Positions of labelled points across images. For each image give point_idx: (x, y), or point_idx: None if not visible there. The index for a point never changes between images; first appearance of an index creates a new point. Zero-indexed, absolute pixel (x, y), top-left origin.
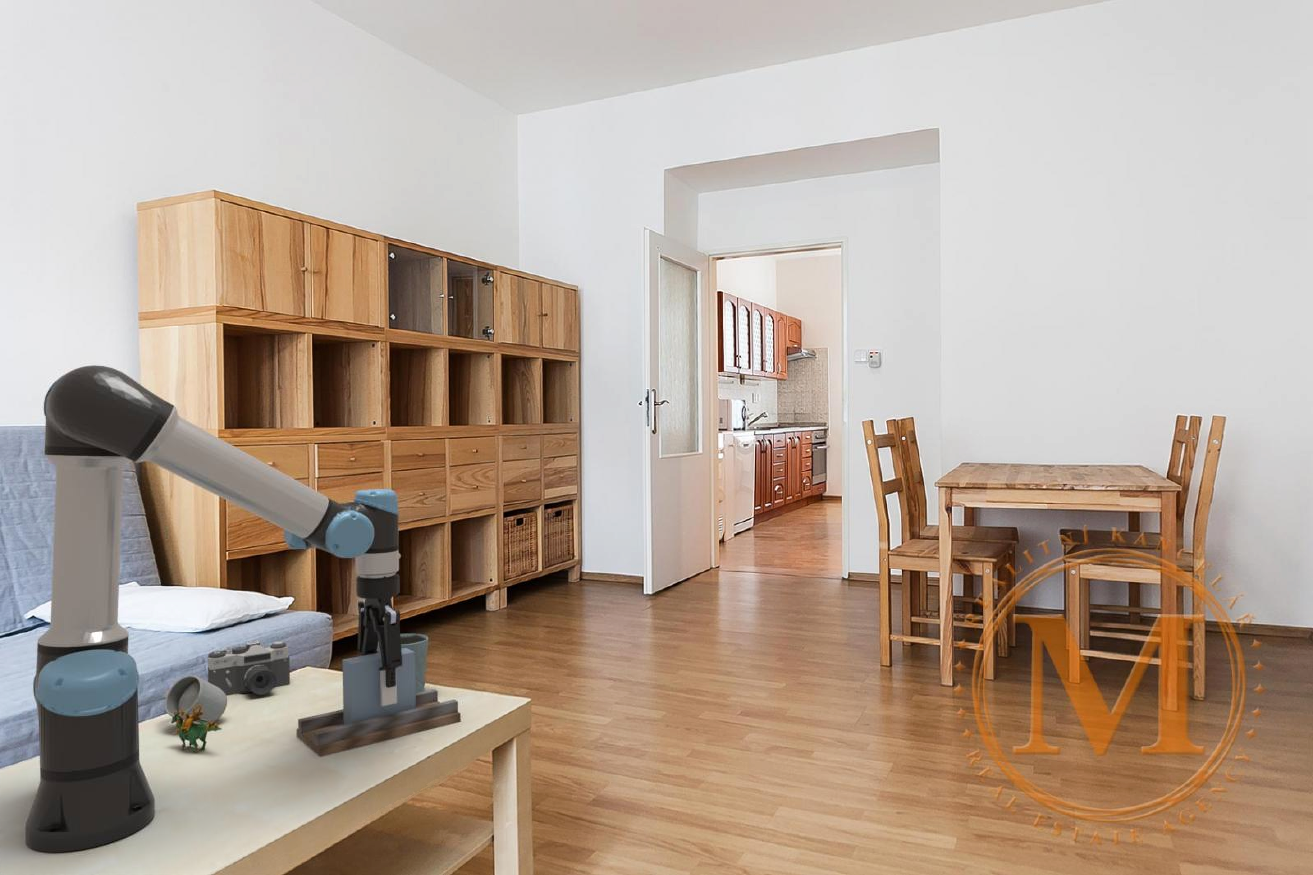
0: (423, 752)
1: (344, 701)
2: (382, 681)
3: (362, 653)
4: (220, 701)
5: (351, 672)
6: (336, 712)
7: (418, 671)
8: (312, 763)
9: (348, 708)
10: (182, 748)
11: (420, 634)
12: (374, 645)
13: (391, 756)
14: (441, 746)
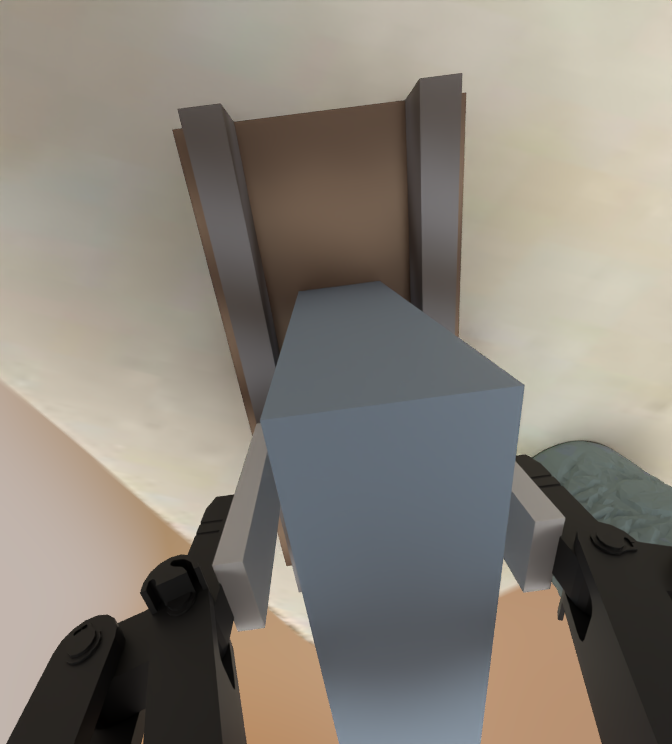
0: (97, 432)
1: (384, 299)
2: (233, 503)
3: (623, 558)
4: None
5: (273, 384)
6: (434, 268)
7: (559, 590)
8: (125, 93)
9: (332, 302)
10: None
11: None
12: (600, 695)
13: (96, 354)
14: (126, 476)
